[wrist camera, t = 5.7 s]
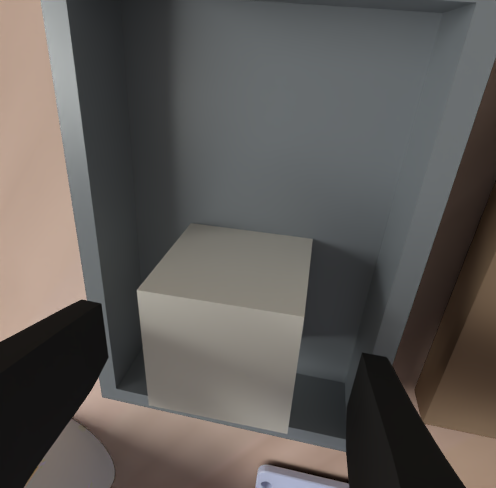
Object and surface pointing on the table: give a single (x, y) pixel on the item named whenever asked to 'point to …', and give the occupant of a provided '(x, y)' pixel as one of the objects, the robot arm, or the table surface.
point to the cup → (74, 462)
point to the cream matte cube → (226, 325)
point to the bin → (268, 158)
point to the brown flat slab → (466, 344)
